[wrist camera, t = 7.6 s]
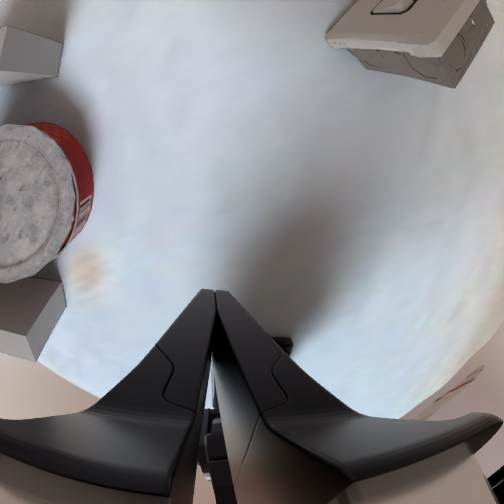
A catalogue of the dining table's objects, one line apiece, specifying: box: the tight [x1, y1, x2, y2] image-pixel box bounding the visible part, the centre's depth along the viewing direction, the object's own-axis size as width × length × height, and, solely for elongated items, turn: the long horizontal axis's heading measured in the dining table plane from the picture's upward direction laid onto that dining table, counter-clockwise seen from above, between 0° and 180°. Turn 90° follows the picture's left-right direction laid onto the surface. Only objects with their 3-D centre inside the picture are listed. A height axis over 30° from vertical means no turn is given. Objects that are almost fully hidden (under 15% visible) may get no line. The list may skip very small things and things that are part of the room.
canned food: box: [0, 122, 94, 283], centre depth 15 cm, size 11×10×10 cm
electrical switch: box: [325, 0, 495, 88], centre depth 12 cm, size 9×5×9 cm, turn 143°
